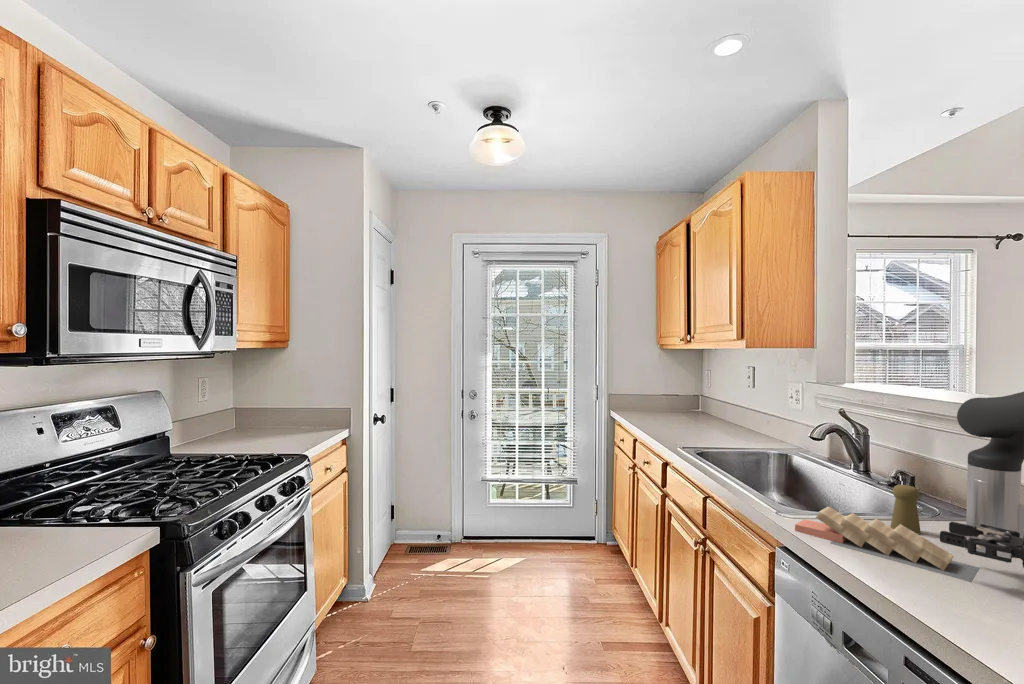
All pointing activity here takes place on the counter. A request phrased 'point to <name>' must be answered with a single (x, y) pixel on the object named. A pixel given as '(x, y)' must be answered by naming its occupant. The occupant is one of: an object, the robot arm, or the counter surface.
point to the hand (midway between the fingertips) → (944, 531)
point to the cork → (906, 508)
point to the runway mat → (952, 569)
